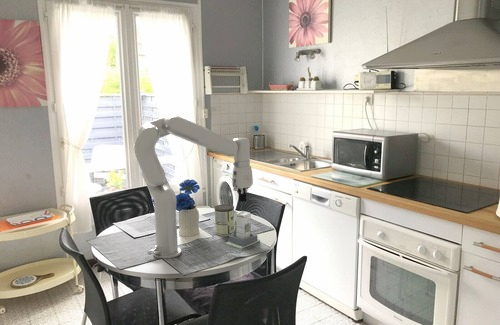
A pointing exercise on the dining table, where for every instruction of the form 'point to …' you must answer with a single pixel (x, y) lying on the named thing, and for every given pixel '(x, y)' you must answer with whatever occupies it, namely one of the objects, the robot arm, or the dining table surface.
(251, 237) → the grey square tray
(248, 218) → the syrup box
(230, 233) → the coffee can
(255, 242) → the board
